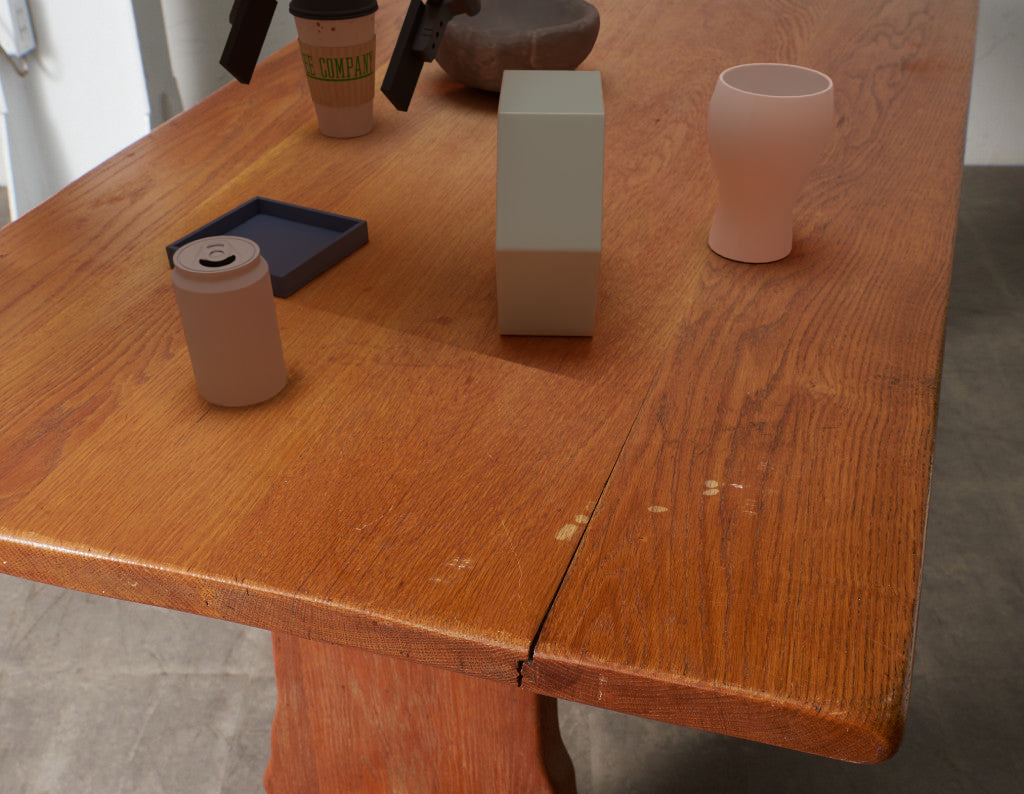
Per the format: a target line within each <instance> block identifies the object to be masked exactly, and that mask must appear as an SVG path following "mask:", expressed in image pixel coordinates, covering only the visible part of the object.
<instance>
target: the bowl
mask: <svg viewBox="0 0 1024 794" xmlns="http://www.w3.org/2000/svg"><path fill="white" fill-rule="evenodd" d="M424 4H426V2H424ZM600 28H601V16H600V12H599V10H598V8H597V7H596V6H595V5H594V4H592V3H590V2H588V1H586V0H481V10H480V12H479V13H478V14H477V15H475V16H473V17H470V16H467V15H466V14H465V13H464V14H460V15H456V16H454V17H453V19H452V20H451V21H449V22H448V24H447V27H446V29H445V32H444V35H443V38H442V41H441V44H440V47H439V50H438V53H437V55H436V57H435V59H434V60H435V62H436V63H437V65H438V66H439V67H440V68H441V69H443V71H444V72H445V73H446V74H447V75H448V76H449V77H450V78H452V79H453V80H455V81H456V82H458V83H460V84H462V85H464V86H467V87H470V88H474V89H479V90H481V91H487V92H492V93H500V92H501V85H502V78H503V71H504V70H556V71H576V69H577V68H578V67H580V65H582V64H583V62H584V61H585V60H586V59H587V58H588V57H589V55H590V54H591V52H592V51H593V49H594V46H595V45H596V41H597V39H598V36H599V33H600Z"/></svg>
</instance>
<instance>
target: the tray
mask: <svg viewBox="0 0 1024 794" xmlns="http://www.w3.org/2000/svg"><path fill="white" fill-rule="evenodd" d="M214 236H237V237H243V238H247V239H249V240H252V241H253V242H255V243H256V244H257V245H258V246H259V248H260V255H261V256H262V257H263V258H264V259H265V260H266V262H267V263H268V267H269V273H270V279H271V285H272V291H273V296H274V297H278V298H279V297H280V298H284V299H287V298H288V297H290V296H291V295H292V294H294V293H295V292H297V291H298V290H300V289H301V288H303V287H304V286H305V285H307V284H308V283H309V282H312V280H314V279H316V278H317V277H318V276H320V275H321V274H323V273H324V272H325V271H327V270H328V269H330V268H332V267H333V266H335V265H336V264H337V263H339V262H340V261H342V260H343V259H344V258H346V257H347V256H349V255H350V254H352V253H353V252H355V251H356V250H357V249H359V248H360V247H362V246H363V245H365V244H366V243H368V242H369V240H370V238H369V237H370V236H369V228H368V221H367V220H365V219H360V218H356V217H351V216H347V215H344V214H340V213H339V214H338V213H335V212H330V211H325V210H321V209H317V208H313V207H308V206H304V205H299V204H295V203H290V202H285V201H281V200H278V199H272V198H269V197H263V196H259V195H256V196H253V197H252V198H250V199H248V200H246V201H245V202H243V203H241V204H239V205H238V206H236V207H234V208H232V209H231V210H229V211H227V212H225V213H224V214H222V215H220V216H218V217H216V218H214V219H213V220H210V221H209V222H207V223H205V224H204V225H202V226H200V227H199V228H197V229H195V230H193V231H191V232H189V233H188V234H186V235H184V236H182V237H180V238H179V239H177V240H175V241H173V242H172V243H170V244H168V245H166V246H165V251H166V257H167V260H168V264H169V267H170V268H171V269H174V267H175V265H174V262H173V256H174V254H175V252H176V251H177V250H178V249H179V248H181V247H182V246H184V245H186V244H188V243H190V242H193V241H196V240H199V239H203V238H207V237H214Z"/></svg>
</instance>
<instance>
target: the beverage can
mask: <svg viewBox="0 0 1024 794" xmlns="http://www.w3.org/2000/svg"><path fill="white" fill-rule="evenodd" d="M173 262H174V265H175V267H174V268H172V272H171V275H170V278H171V279H170V280H171V283H172V287H173V291H174V295H175V299H176V300H175V301H176V305H177V309H178V312H179V316H180V321H181V325H182V329H183V333H184V334H183V335H184V337H185V341H186V342H185V343H186V346H187V350H188V354H189V359H190V362H191V367H192V371H193V375H194V381H195V384H196V388H197V392H198V394H199V396H200V397H201V398H202V399H203V400H204V401H205V402H208V403H210V404H213V405H216V406H222V407H228V408H229V407H230V408H231V407H232V408H233V407H234V408H235V407H237V408H238V407H246V406H251V405H252V406H253V405H256V404H260V403H263V402H265V401H268V400H269V399H272V398H273V397H274V396H276V395H277V394H280V392H281V391H282V390H283V389H285V386H286V385H287V381H288V373H287V368H286V362H285V357H284V356H285V355H284V350H283V344H282V339H281V338H282V337H281V331H280V327H279V320H278V315H277V309H276V302H275V295H273V291H272V285H271V279H270V273H269V267H268V263H267V262H266V260H265V259H264V258H263V257H262V256H261V255H260V248H259V246H258V245H257V244H256V243H255V242H253V241H252V240H249V239H247V238H243V237H237V236H214V237H207V238H203V239H199V240H196V241H193V242H190V243H188V244H186V245H184V246H182V247H181V248H179V249H178V250H177V251H176V252H175V254H174V256H173Z"/></svg>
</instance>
